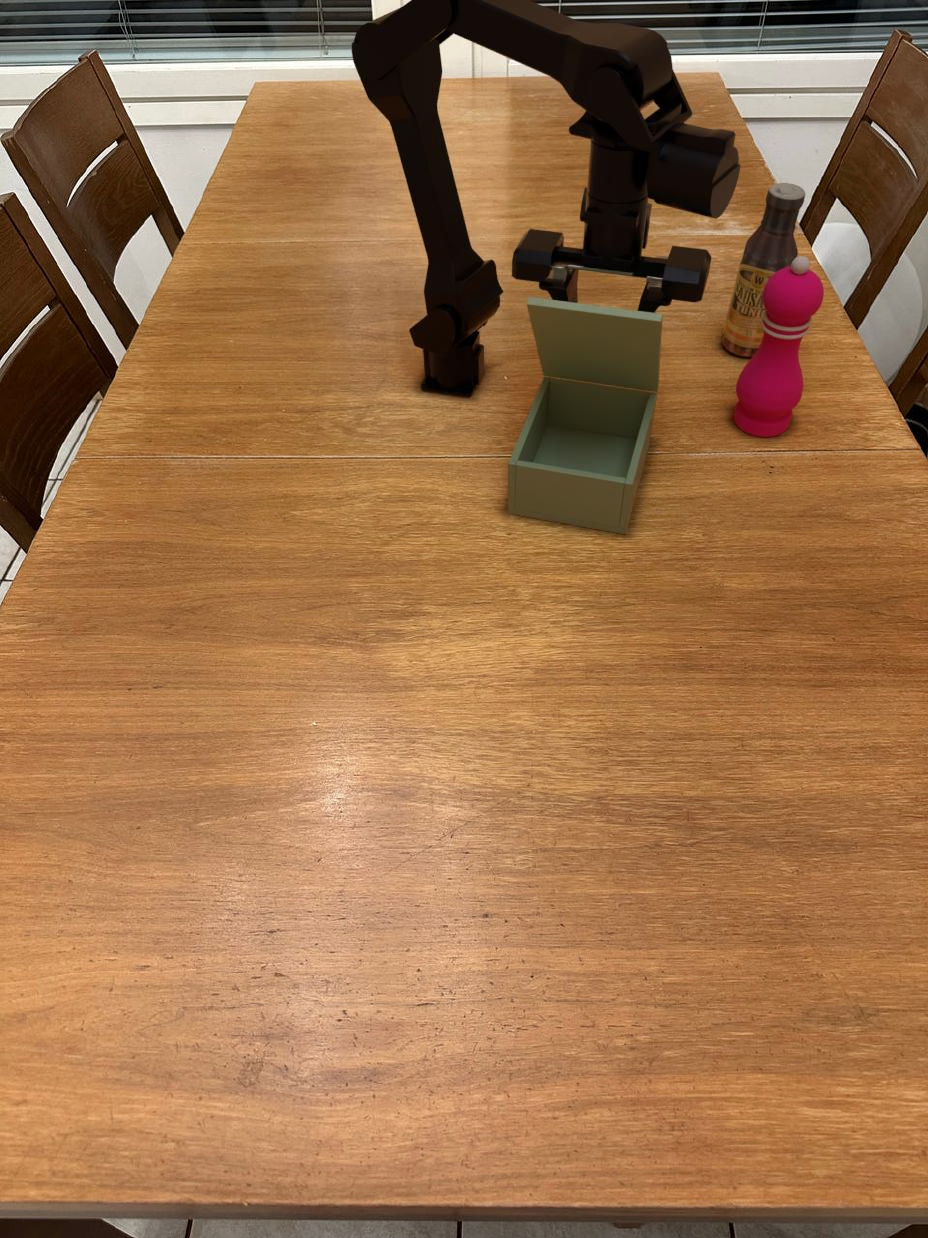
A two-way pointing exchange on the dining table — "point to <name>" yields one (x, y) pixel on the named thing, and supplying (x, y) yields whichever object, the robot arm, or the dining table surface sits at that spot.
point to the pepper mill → (778, 351)
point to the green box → (581, 454)
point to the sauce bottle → (762, 268)
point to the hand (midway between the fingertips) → (603, 342)
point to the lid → (597, 343)
